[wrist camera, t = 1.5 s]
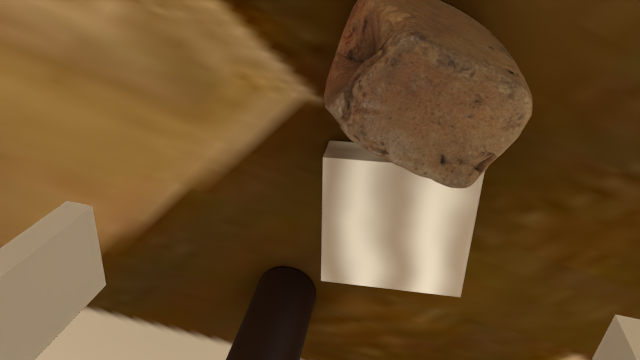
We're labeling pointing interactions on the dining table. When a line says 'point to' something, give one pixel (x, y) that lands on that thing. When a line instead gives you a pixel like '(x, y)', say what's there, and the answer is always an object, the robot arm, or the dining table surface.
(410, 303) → the dining table surface
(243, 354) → the bottle
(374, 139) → the brown river rock
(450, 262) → the platform
